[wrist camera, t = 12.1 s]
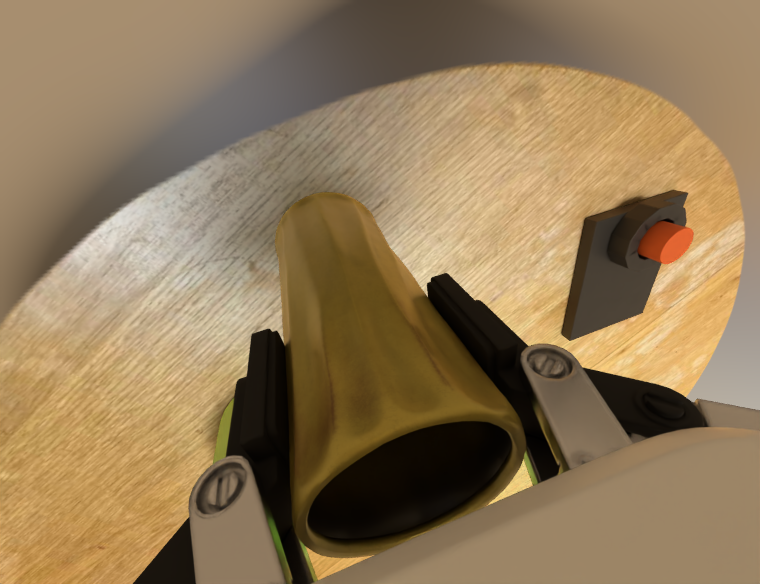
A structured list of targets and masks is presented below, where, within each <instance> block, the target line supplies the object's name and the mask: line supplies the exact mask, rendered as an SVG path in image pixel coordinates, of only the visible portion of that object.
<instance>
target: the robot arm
mask: <svg viewBox="0 0 760 584" xmlns="http://www.w3.org/2000/svg"><path fill="white" fill-rule="evenodd" d="M427 291H428V298H429V300H430V301H431V303H432V304H433V305H434V307H435V308H436V310H437V311H438V312H439V314H440V315H441V316H442V317H443V319H444V320H445V321H446V322H447V324H448V325H449V326H450V327H451V329H452V330H453V331H454V332H455V334H456V335H457V336H458V338H459V339H460V340H461V342H462V343H463V344H464V346H465V347H466V348H467V350H468V351H469V352H470V354H471V355H472V356H473V358H474V359H475V360H476V362H477V363H478V364H479V365H480V367H481V368H482V369H483V371H484V372H485V373H486V374H487V376H488V377H489V378H490V379H491V381H492V382H493V383H494V385H495V386H496V387H497V388H498V390H499V391H500V392H501V393H502V394H503V395H504V396H505V397H506V399H507V400H508V402H509V403H510V404H511V405H512V407H513V408H514V410H515V412H516V413H517V415H518V416H519V418H520V420H521V423H522V427H523V430H524V433H525V438H526V452H525V456H524V461H525V464H526V467H527V470H528V473H529V476H530V478H531V481H532V484H533V486H532V487H529V488H527V489H525V490H522V491H520V492H518V493H516V494H513V495H511V496H509V497H506V498H504V499H502V500H499V501H497V502H495V503H493V504H490V505H488V506H486V507H483V508H481V509H479V510H477V511H474V512H472V513H470V514H467V515H465V516H463V517H461V518H458V519H456V520H454V521H452V522H449V523H447V524H445V525H442V526H440V527H438V528H436V529H433V530H431V531H429V532H427V533H424V534H422V535H420V536H417V537H415V538H413V539H411V540H408V541H406V542H404V543H402V544H399V545H397V546H395V547H392V548H390V549H388V550H386V551H383V552H381V553H379V554H377V555H374V556H372V557H370V558H368V559H365V560H363V561H361V562H359V563H356V564H354V565H352V566H350V567H348V568H345V569H343V570H341V571H339V572H336V573H334V574H332V575H330V576H327V577H325V578H323V579H321V580H318V579H317V577H316V574H315V571H314V569H313V566H312V563H311V561H310V558H309V555H308V553H307V550H306V547H305V545H303V543H302V542H301V541H300V540H299V539H298V537H297V535H296V534H295V530H294V525H293V520H292V503H291V489H290V459H289V422H288V397H287V378H286V360H285V345H284V343H283V341H282V339H281V337H280V335H279V333H278V332H277V331H274V332H272V331H271V330H270V329H266V330H263V331H260V332H256V333H253V334H252V336H251V344H250V353H249V362H248V371H247V377H244V378H241V379H239V380H238V381H237V384H236V390H235V396H234V403H233V410H232V417H231V423H230V430H229V437H228V444H227V450H226V457H225V458H223V459H221V460H219V461H217V462H215V463H214V464H213V465H211V466H210V467H209V468H208V469H207V470H206V471H205V472H204V473H203V474H202V475H201V476H200V477H199V479H198V481H197V482H196V484H195V485H194V487H193V489H192V492H191V495H190V498H189V518H188V519H187V520H186V521H185V522H184V524H183V525H182V526H181V527H180V528H179V530H178V531H177V532H176V533H175V534H174V535H173V537H172V538H171V539H170V540H169V541H168V543H167V544H166V545H165V546H164V547H163V549H162V550H161V551H160V552H159V553H158V554H157V556H156V557H155V558H154V559H153V560H152V562H151V563H150V564H149V565H148V566H147V568H146V569H145V570H144V571H143V572H142V574H141V575H140V576H139V577H138V578H137V579H136V581H135V582H134V583H133V584H760V410H755V409H750V408H744V407H738V406H734V405H729V404H723V403H718V402H713V401H707V400H702V399H696V401H695V402H691V401H690V400H689V399H687V398H686V397H684V396H683V395H682V394H680V393H678V392H676V391H674V390H672V389H670V388H667V387H664V386H661V385H657V384H653V383H649V382H644V381H640V380H635V379H631V378H627V377H622V376H618V375H613V374H609V373H604V372H600V371H596V370H591V369H587V368H582V366H581V365H580V363H579V362H578V361H577V359H576V358H575V357H574V356H573V355H572V354H571V353H570V352H568V351H567V350H565V349H563V348H561V347H558V346H556V345H551V344H535V345H531V346H528V345H527V344H526V343H525V342H523V341H522V340H521V339H520V338H519V337H518V336H517V335H516V334H515V333H514V332H513V331H512V330H511V329H510V328H509V327H508V326H507V325H506V324H505V323H504V322H503V321H502V320H501V319H500V318H498V317H497V316H496V315H495V314H494V313H493V312H492V311H491V310H490V309H489V308H488V307H487V306H486V305H485V304H484V303H483V302H481V301H480V300H476V301H475V300H474V299H473V298H472V297H471V296H470V295H469V294H468V293H467V292H466V291H465V290H464V289H463V288H462V287H461V286H460V285H459V284H458V283H457V282H456V281H455V280H454V279H453V278H452V277H451V276H450V275H449V274H447V273H444V274H441V275H438V276H435V277H432V278H431V282H429V283H427Z"/></svg>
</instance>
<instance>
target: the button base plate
mask: <svg viewBox="0 0 760 584" xmlns="http://www.w3.org/2000/svg"><path fill="white" fill-rule="evenodd" d="M687 195H688V193H687V192H681V191H676V190H673V191H670V192H667V193H664V194H661V195H658V196H655V197H651V198H648V199H645V200H642V201H639V202H636V203H632V204H629V205H626V206H623V207H620V208H617V209H614V210H610V211H607V212H604V213H601V214H598V215H595V216H591V217H588V218H586V219H585V223H584V228H583V233H582V238H581V243H580V248H579V253H578V257H577V262H576V267H575V272H574V277H573V282H572V287H571V292H570V296H569V301H568V306H567V311H566V316H565V321H564V326H563V331H562V335H563V336H564V337H565V338H567V339H568V340H569V341H571V340H574V339H576V338H579V337H581V336H584V335H587V334H589V333H592V332H594V331H597V330H600V329H602V328H605V327H607V326H610V325H613V324H615V323H618V322H620V321H623V320H625V319H628V318H631V317H633V316H636V315H638V314H641V313H643V310H644V308H645V305H646V302H647V300H648V297H649V295H650V292H651V289H652V287H653V284H654V281H655V279H656V276H657V274H658V271H659V268H660V266H661V263H660V262H657V261H655V260H652V259H650V258H647V257H644V256H642V255H640V254H638V252H637V250H638V246H639V243H640V241H641V239H642V238H643V236H644V235H645V234H646V232H647V231H648V229H650V228H651V227H652V226H653V225H654V224H656V223H657V222H658V221H666V222H669V223H673V224H676V225H680V226H684V227H685V225H686V221H687V220H686V210H685V208H683V206H684V203H685V200H686V198H687Z"/></svg>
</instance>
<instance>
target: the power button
mask: <svg viewBox="0 0 760 584" xmlns="http://www.w3.org/2000/svg"><path fill="white" fill-rule="evenodd" d="M693 235H694V233H693V230H692V229H690V228H687V227H684V226H680V225H676V224H673V223H669V222H666V221H658V222H657V223H656V224H654V225H653V226H652V227H651V228H650V229H648V231H647V232H646V234H645V235H644V236H643V238H642V239H641V241H640V243H639V246H638V250H637V252H638V254H640V255H642V256H644V257H647V258H650V259H652V260H655V261H657V262H660V263H663V264H669V263H672V262H674V261H675V260H677V259H678V258H680V257H681V256H682V255H683V254H684V253H685V251H686V250H687V249H688V247H689V246H690V244H691V242H692V240H693Z"/></svg>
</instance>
